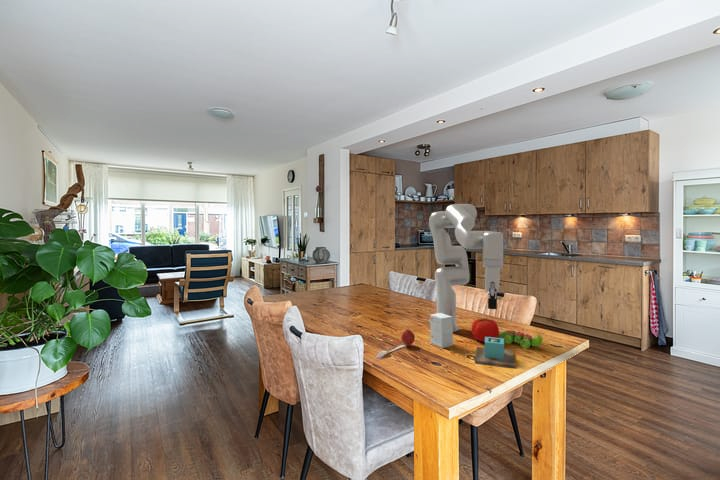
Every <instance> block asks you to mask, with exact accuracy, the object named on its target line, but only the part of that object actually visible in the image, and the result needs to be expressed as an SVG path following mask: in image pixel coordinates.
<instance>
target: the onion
mask: <svg viewBox="0 0 720 480" xmlns="http://www.w3.org/2000/svg"><path fill="white" fill-rule="evenodd" d="M400 337H401V338H400V339H401V341H402V342H401V343H403V345H405V346H406V347H411V345H412V344H413V343H414V342H415V340H416V339H415V335H414V332H413V331H411V330H410V329H409V328H406V329H405V330H404V331H403V332H402V333H401V336H400Z"/></svg>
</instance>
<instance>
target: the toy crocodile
mask: <svg viewBox="0 0 720 480" xmlns="http://www.w3.org/2000/svg"><path fill="white" fill-rule="evenodd" d="M498 338H503V339H504V344H508V345H511V344H512V343H513V342H515V343H517V344H519V345H520V346H521V348H523V349H529V348H530V346H533V347H534V346H535V347H537V346H540V345H541V344H542V342H543V340H544V338H543V335H542V334H539V333H538V334H537V337H535V336H532V335H530V334H528V333H526V334H525V333H524V332H521V331H517V332H516V331H515V330H510V329H509V330H508V329H507V330H505V331H499V336H498Z"/></svg>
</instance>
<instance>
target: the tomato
mask: <svg viewBox="0 0 720 480" xmlns="http://www.w3.org/2000/svg"><path fill="white" fill-rule="evenodd" d="M488 318H489V317H486V318H478V319H476V320H474V321H473V322H472V325H471V328H470V329H471V334H472V336H473V338H474V339H475V340H477V341H479V342H482V343H485V337H493V338H498V336H499V332H500V329H499V326H498V324H497V322H496V321H495V320H494V319H488Z"/></svg>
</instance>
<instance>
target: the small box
mask: <svg viewBox="0 0 720 480" xmlns="http://www.w3.org/2000/svg"><path fill="white" fill-rule="evenodd" d="M429 316H430V318H429V319H430V323H429V324H430V327H429V328H430V332H429V333H430V334H429V335H430V344H432V345H435V346H436V347H439V348H441V349H444V348H448V347H452V346H453V345H454V341H453V339H454V335H453V334H454V332H453V317H452V316H449V315H446V314H443V313H437V312H436V313H432V314H430V315H429Z"/></svg>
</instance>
